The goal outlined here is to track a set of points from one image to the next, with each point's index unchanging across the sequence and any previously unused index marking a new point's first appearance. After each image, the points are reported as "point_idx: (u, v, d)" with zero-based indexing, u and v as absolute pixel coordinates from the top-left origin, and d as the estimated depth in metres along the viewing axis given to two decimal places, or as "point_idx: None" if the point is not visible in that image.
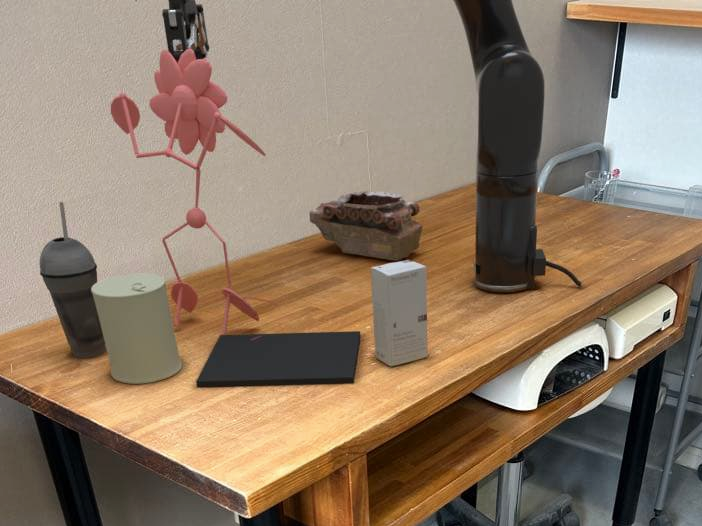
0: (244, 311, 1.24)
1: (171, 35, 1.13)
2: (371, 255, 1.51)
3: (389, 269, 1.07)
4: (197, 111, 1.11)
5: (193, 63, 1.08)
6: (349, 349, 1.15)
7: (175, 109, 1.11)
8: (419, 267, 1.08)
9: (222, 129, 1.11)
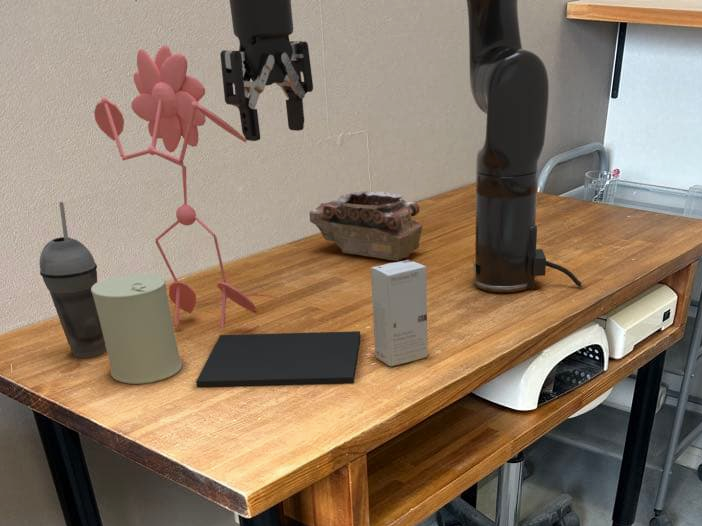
0: (242, 304, 1.23)
1: (226, 78, 1.06)
2: (371, 255, 1.51)
3: (390, 269, 1.07)
4: (177, 106, 1.11)
5: (169, 58, 1.08)
6: (349, 349, 1.15)
7: (156, 107, 1.12)
8: (419, 267, 1.08)
9: (203, 121, 1.11)
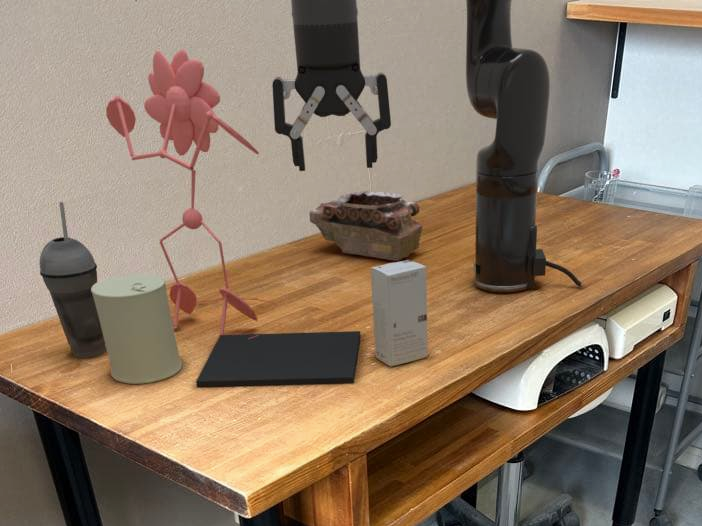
0: (242, 311, 1.24)
1: None
2: (371, 255, 1.51)
3: (390, 269, 1.07)
4: (191, 112, 1.11)
5: (185, 64, 1.08)
6: (349, 349, 1.15)
7: (169, 110, 1.12)
8: (419, 267, 1.08)
9: (216, 129, 1.11)
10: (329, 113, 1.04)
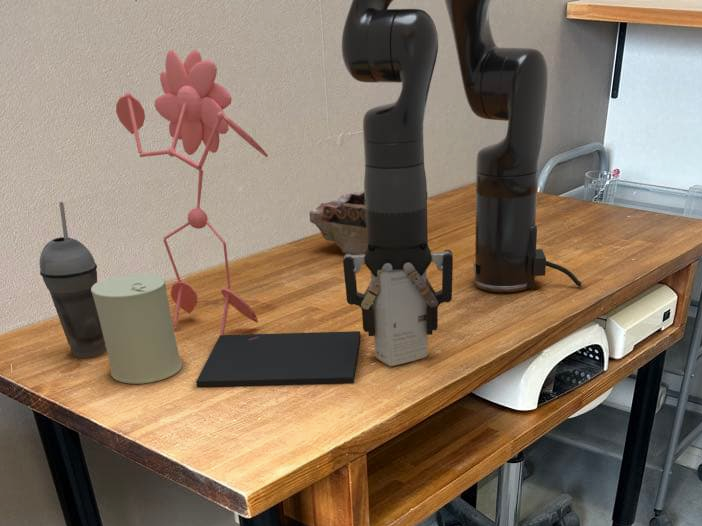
0: (243, 312, 1.24)
1: None
2: None
3: None
4: (201, 112, 1.11)
5: (198, 64, 1.09)
6: (349, 349, 1.15)
7: (180, 109, 1.12)
8: None
9: (225, 130, 1.11)
10: None
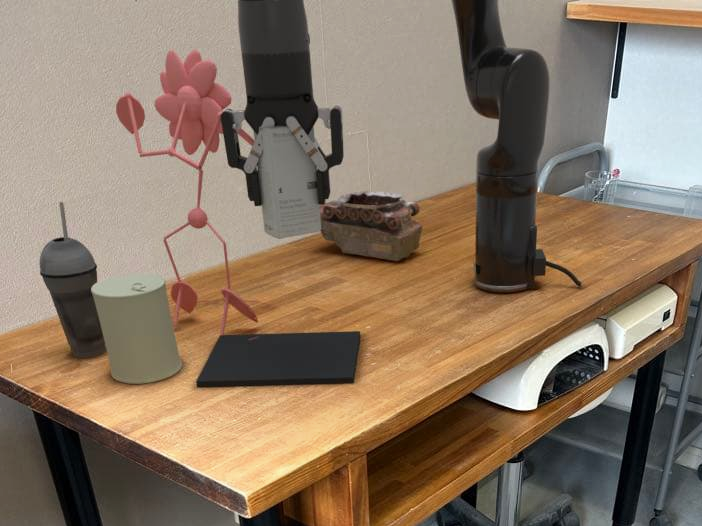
0: (243, 312, 1.24)
1: None
2: (371, 255, 1.51)
3: None
4: (201, 112, 1.11)
5: (198, 64, 1.09)
6: (349, 349, 1.15)
7: (179, 109, 1.12)
8: None
9: None
10: None
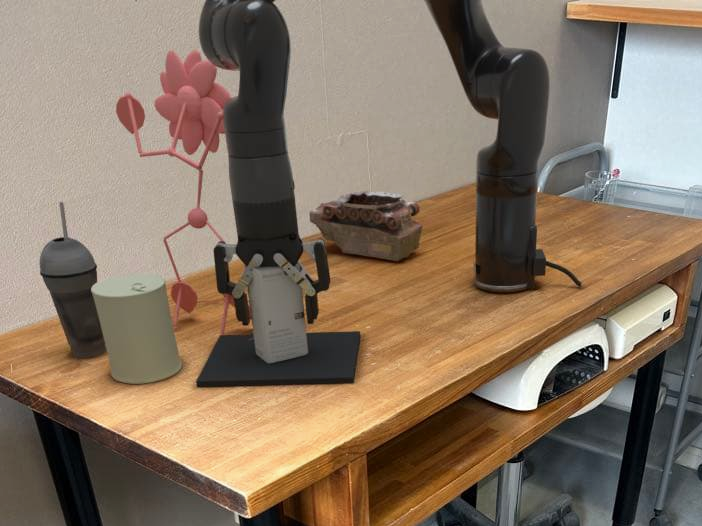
0: None
1: None
2: (371, 255, 1.51)
3: None
4: (201, 112, 1.11)
5: (198, 64, 1.09)
6: (349, 349, 1.15)
7: (180, 109, 1.12)
8: None
9: None
10: None
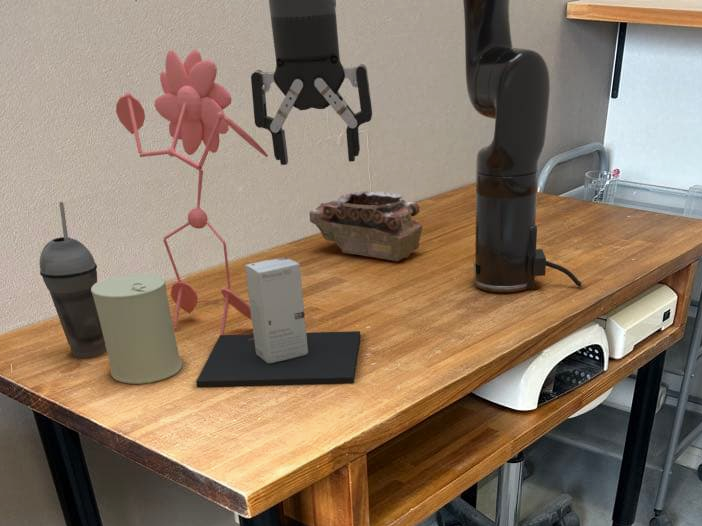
0: (243, 312, 1.24)
1: None
2: (371, 255, 1.51)
3: (262, 266, 1.07)
4: (201, 112, 1.11)
5: (198, 64, 1.09)
6: (349, 349, 1.15)
7: (179, 109, 1.12)
8: (293, 265, 1.08)
9: (225, 130, 1.11)
10: (309, 106, 1.03)
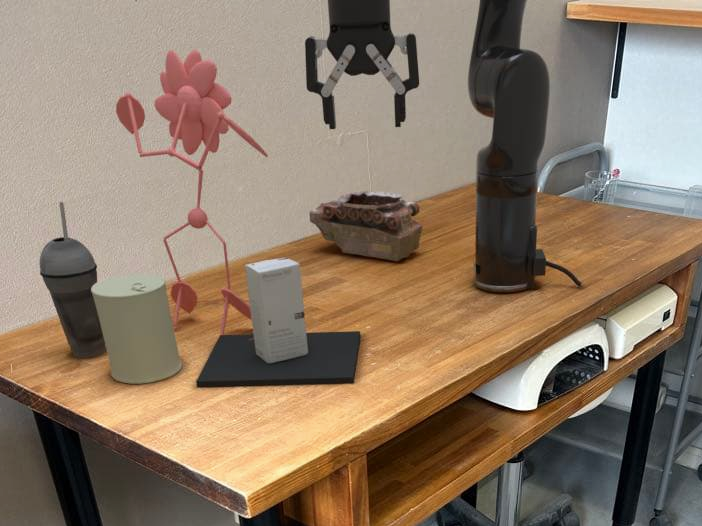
0: (243, 312, 1.24)
1: None
2: (371, 255, 1.51)
3: (262, 266, 1.07)
4: (201, 112, 1.11)
5: (198, 64, 1.09)
6: (349, 349, 1.15)
7: (180, 109, 1.12)
8: (293, 265, 1.08)
9: (225, 130, 1.11)
10: (359, 72, 1.07)
